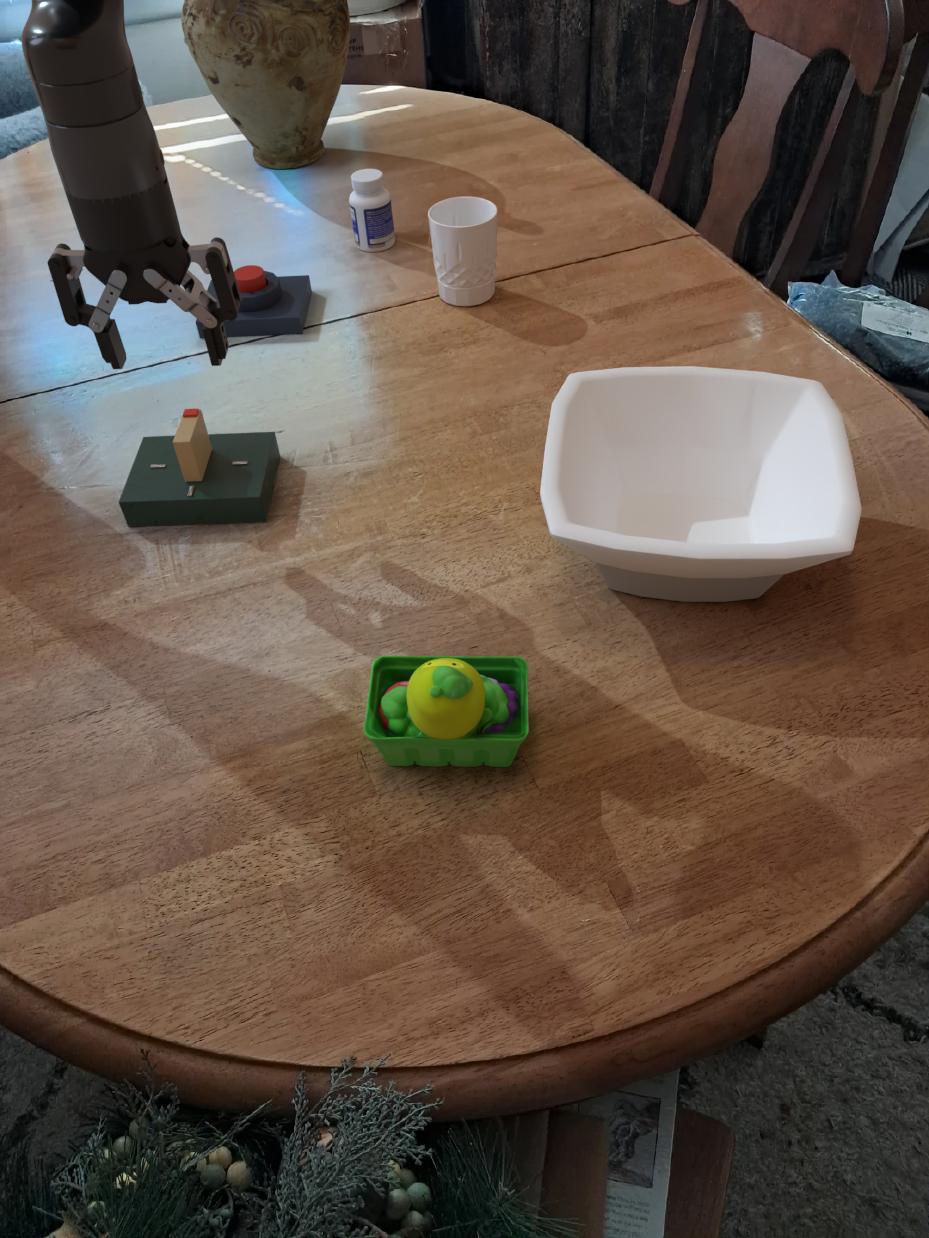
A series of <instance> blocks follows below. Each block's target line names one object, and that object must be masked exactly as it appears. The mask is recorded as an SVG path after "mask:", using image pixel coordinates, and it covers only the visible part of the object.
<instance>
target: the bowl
mask: <svg viewBox="0 0 929 1238" xmlns="http://www.w3.org/2000/svg"><path fill="white" fill-rule="evenodd" d="M548 419H549V420H548V424H547V425H548V426H547V433H546V439H545V446H544V454H543V463H542V472H541V481H540V489H539V497H540V501H541V505H542V510H543V512H544V517H545V520H546V524H547V529H548V531H549V535H550V537H551V538H552V539H553V540H555V541H557V542H558V543H560V544H562V545H563V546H565V547H567V548H569V549H570V550H571V551H574V552H576V553H577V554H579V555H581V556H583V558H586V559H587V560H589V561H590V562H593V563H594V564H595V566H596V567H597V570H598V571H599V573H600V575H601V577H602V579H603V581H604V583H605V584H606V586H607V588H608V589H610V590H613V591H616V592H622V593H626V594H629V595H633V596H638V597H643V598H649V599H650V598H651V599H658V600H667V601H675V602H683V603H686V602H687V603H695V602H696V603H705V602H706V603H724V602H725V603H727V602H728V603H729V602H736V601H746V600H752V599H753V600H754V599H758V598H760V597H761V596H762V595H764V594H765V593H766V592H767V591H768V590H769V589H770V588H771V587H772V586H773V585H774V584H775V583H777V582H778V581H779V580H780V579H781V578H782V577H783V576H784V575H788V574H790V573H794V572H798V571H801V570H804V569H807V568H810V567H814V566H816V565H820V564H823V563H827V562H830V561H833V560H837V559H840V558H843V557H846V556H849V555H852V553H853V550H854V548H855V544H856V539H857V534H858V530H859V525H860V519H861V514H862V509H863V508H862V503H861V497H860V491H859V488H858V482H857V476H856V471H855V465H854V460H853V456H852V451H851V447H850V443H849V439H848V434H847V431H846V427H845V422H844V418H843V414H842V413H841V411H840V409H839V408H838V406H837V405H836V403H835V402H834V400H833V399H832V397H831V395H830V394H829V392H828V391H827V390H826V388H825V386H824V385H823V384H822V383H821V382H820V381H818V380H816V379H815V380H814V379H808V378H803V377H797V376H792V375H791V376H790V375H785V374H778V373H773V372H768V371H758V370H746V369H745V370H744V369H732V368H720V367H708V366H707V367H706V366H697V365H696V366H694V365H687V366H685V365H684V366H683V365H682V366H681V365H680V366H625V367H615V368H606V369H594V370H586V371H577V372H572V373H570V374H568V375H567V377H566V379H565V380H564V382H563V383H562V385H561V387H560V389H559V391H558V393H557V394H556V396H555V397H554V399H553V401H552V402H551V407H550V413H549V418H548Z"/></svg>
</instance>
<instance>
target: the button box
mask: <svg viewBox="0 0 929 1238" xmlns="http://www.w3.org/2000/svg"><path fill="white" fill-rule="evenodd" d="M264 274H265V279H266V284H267V285H266V287H264V288H263V289H262V290H259V291H255V292H250V293H242V292H240V295H241V299H242V302H241V305H240V307H239V310H238V315H237V318H236V319H235V320H233V321H230V320H226V321H223V323H224V327H225V331H226V335H227V338H244V337H245V338H246V337H270V336H294V335H303V333H304V328H305V324H306V320H307V316H308V310H309V307H310V302H311V298H312V292H313V291H312V285H311V280H310V279H311V278H310V275H309V274H306V275H305V274H303V275H302V274H301V275H283V276H282V275H281V276H277V275H276V274H275V273H274V272H272V271H268V270H264ZM206 291H207V292H208V293H210V294H211V295H212V296H213V297H214V298H215V299H216V300H217V301H218V298H217V295H216V292H215V288H214V285H213V282H212V279H211V280H210V282H209V285H208V287H207V289H206ZM195 319H196V320H195V325H196V329H197V333H198V337H199V339H200V340H201V339H204V335H203V331H202V328H203V324H202V323H201V322H200V321H199V320H198V319H197V318H195Z"/></svg>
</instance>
